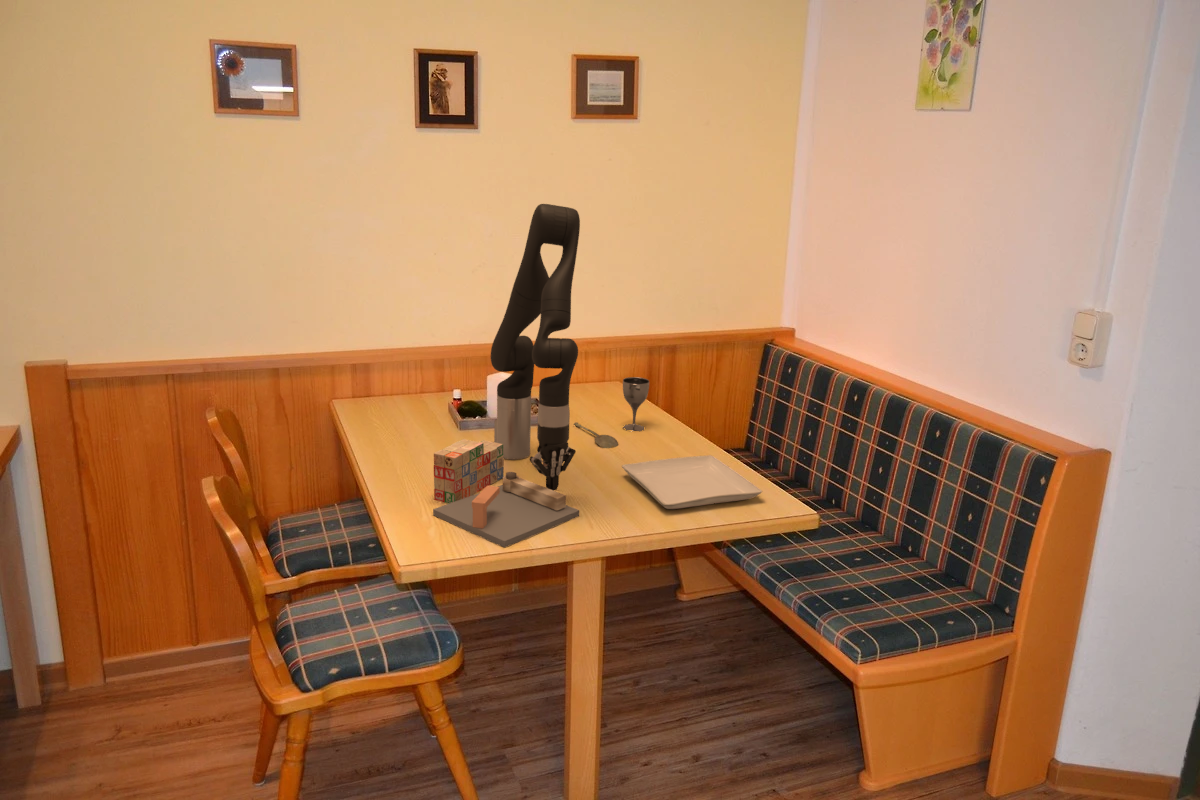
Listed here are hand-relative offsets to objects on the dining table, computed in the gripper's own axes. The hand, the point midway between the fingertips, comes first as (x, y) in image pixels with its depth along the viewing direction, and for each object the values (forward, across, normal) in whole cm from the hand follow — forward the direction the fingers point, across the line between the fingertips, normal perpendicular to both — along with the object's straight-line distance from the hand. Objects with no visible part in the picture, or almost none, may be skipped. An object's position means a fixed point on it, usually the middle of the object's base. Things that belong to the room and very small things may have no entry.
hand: (551, 489), depth 223 cm
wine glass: (+4, -57, -30) cm, 65 cm away
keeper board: (+4, +13, -1) cm, 14 cm away
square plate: (+4, -34, +14) cm, 37 cm away
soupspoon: (+4, -42, -31) cm, 52 cm away
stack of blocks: (+4, +10, -20) cm, 23 cm away
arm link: (+2, +4, -2) cm, 5 cm away
